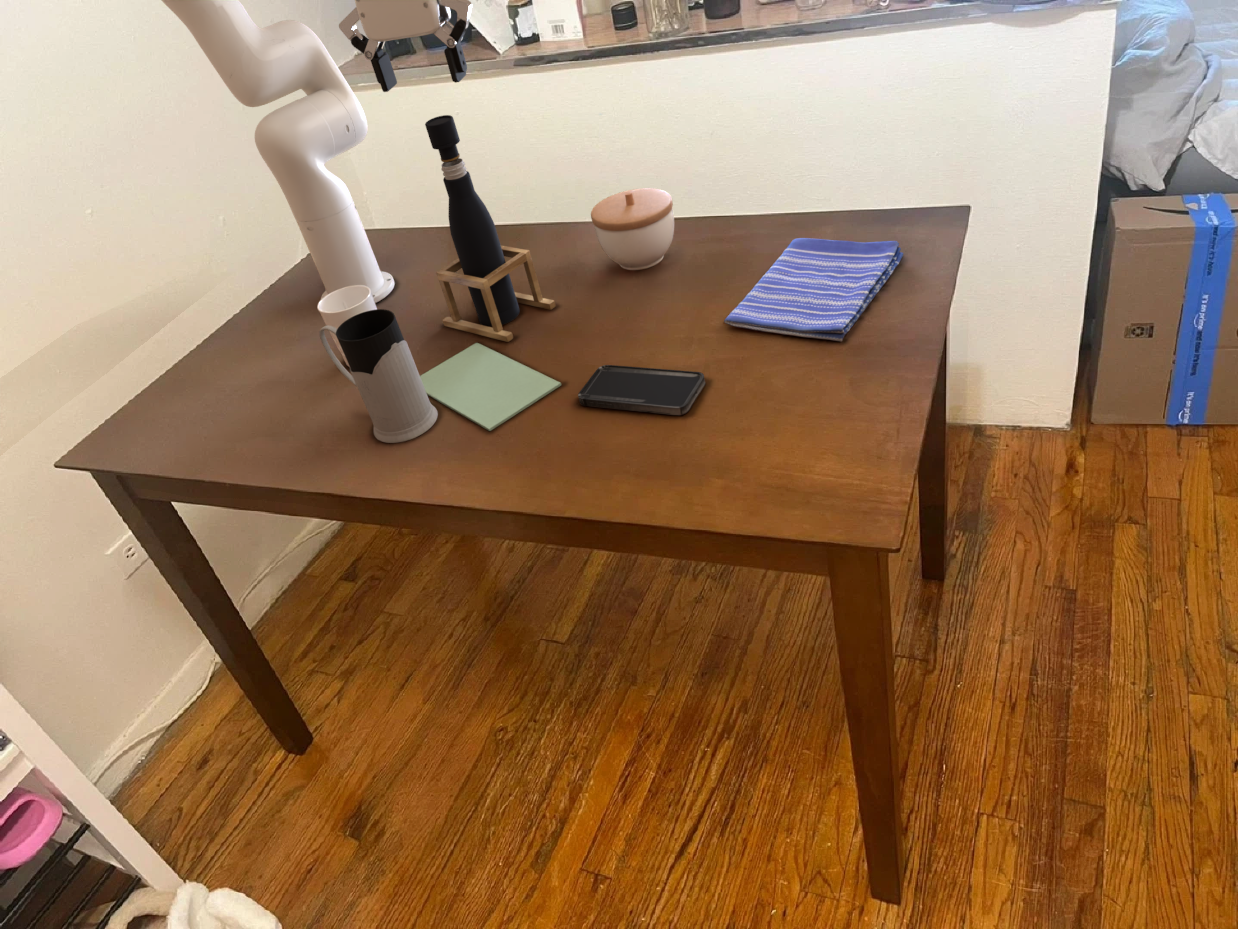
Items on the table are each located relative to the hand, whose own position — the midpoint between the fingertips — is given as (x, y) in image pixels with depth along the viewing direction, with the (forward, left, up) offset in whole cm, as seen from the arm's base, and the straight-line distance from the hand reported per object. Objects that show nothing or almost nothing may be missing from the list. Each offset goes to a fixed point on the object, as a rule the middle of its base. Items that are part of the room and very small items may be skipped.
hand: (424, 83), depth 119 cm
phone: (+31, 0, -36) cm, 47 cm away
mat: (+10, -10, -36) cm, 39 cm away
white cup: (-13, -16, -36) cm, 42 cm away
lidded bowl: (+3, +26, -36) cm, 45 cm away
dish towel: (+34, +31, -36) cm, 58 cm away
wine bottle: (-4, +3, -36) cm, 37 cm away
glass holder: (+5, -23, -36) cm, 43 cm away
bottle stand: (-4, +3, -36) cm, 36 cm away
